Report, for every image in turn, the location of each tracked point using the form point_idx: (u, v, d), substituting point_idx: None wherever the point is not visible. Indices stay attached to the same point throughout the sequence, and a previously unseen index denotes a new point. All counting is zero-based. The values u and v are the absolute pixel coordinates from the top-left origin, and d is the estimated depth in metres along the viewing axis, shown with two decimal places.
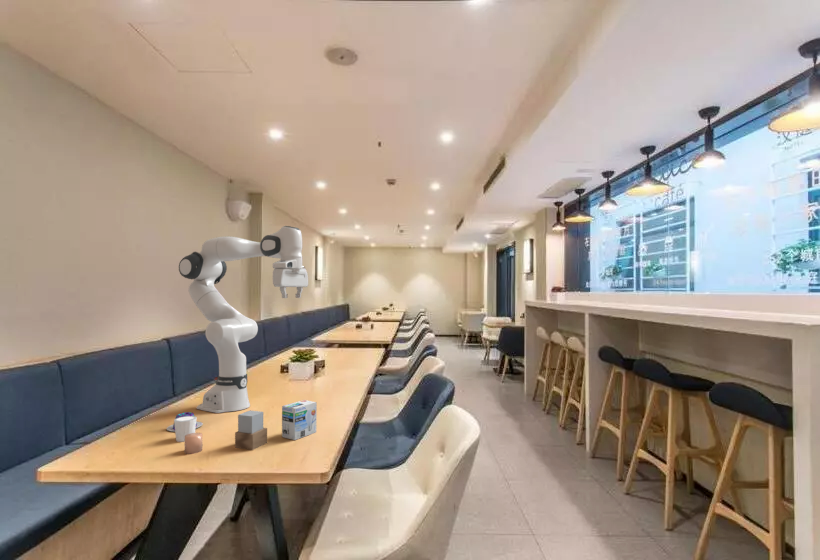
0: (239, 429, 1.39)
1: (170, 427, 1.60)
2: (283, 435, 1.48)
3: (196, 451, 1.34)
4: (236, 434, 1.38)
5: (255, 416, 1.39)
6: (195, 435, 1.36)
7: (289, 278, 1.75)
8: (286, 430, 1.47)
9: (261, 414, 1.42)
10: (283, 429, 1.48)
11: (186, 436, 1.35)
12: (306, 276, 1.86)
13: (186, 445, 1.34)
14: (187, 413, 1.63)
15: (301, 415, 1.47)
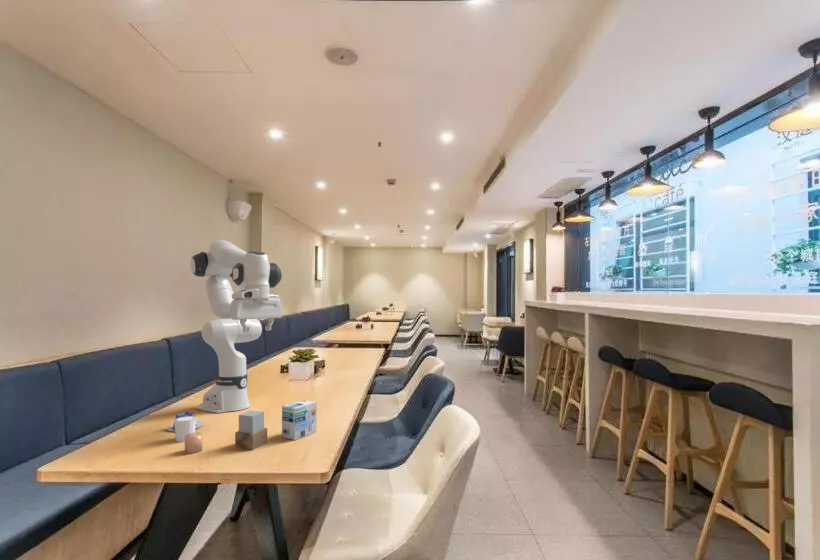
0: (240, 429, 1.39)
1: (170, 427, 1.60)
2: (283, 435, 1.48)
3: (196, 451, 1.34)
4: (236, 434, 1.39)
5: (256, 416, 1.39)
6: (195, 435, 1.36)
7: (250, 309, 1.56)
8: (286, 430, 1.47)
9: (262, 414, 1.42)
10: (283, 429, 1.48)
11: (186, 436, 1.35)
12: (278, 305, 1.66)
13: (186, 445, 1.34)
14: (187, 413, 1.63)
15: (301, 415, 1.47)
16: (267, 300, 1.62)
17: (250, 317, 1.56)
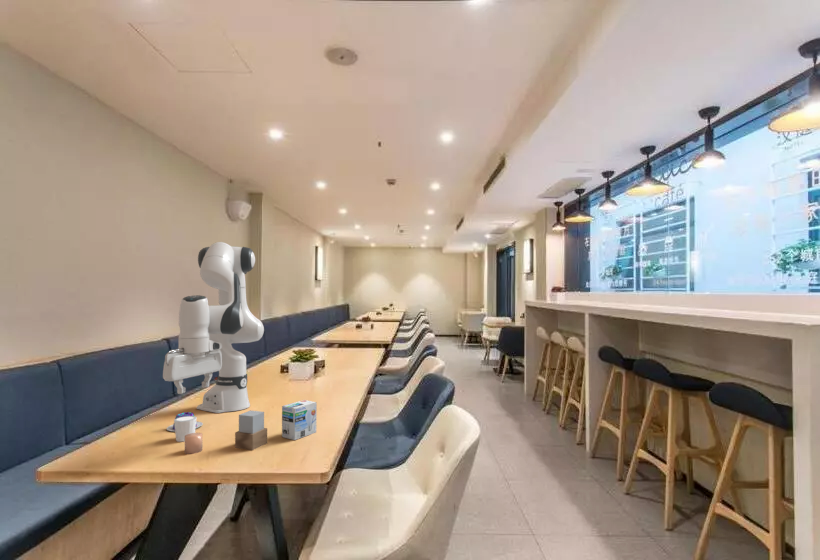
0: (240, 429, 1.39)
1: (170, 427, 1.60)
2: (283, 435, 1.48)
3: (196, 451, 1.34)
4: (236, 434, 1.38)
5: (256, 416, 1.39)
6: (195, 435, 1.36)
7: None
8: (286, 430, 1.47)
9: (262, 414, 1.42)
10: (283, 429, 1.48)
11: (186, 436, 1.35)
12: None
13: (186, 445, 1.34)
14: (187, 413, 1.63)
15: (301, 415, 1.47)
16: None
17: None
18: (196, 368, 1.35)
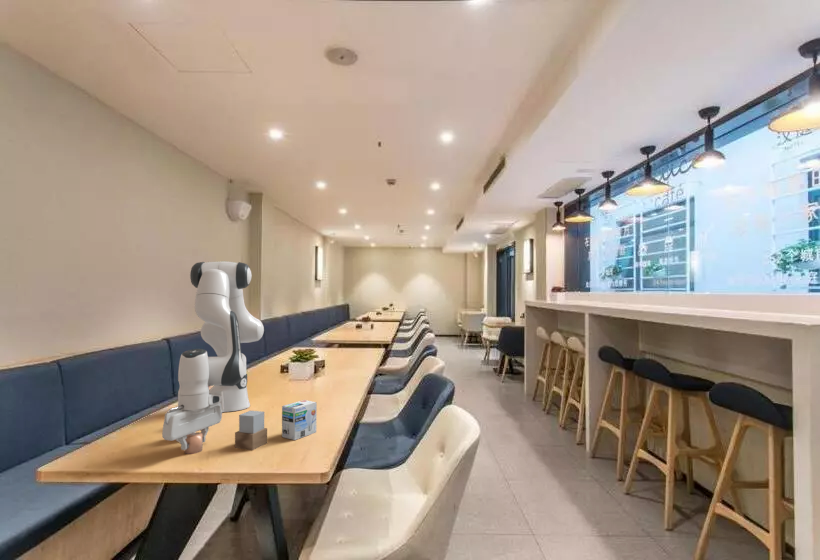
0: (240, 429, 1.39)
1: None
2: (283, 435, 1.48)
3: (196, 451, 1.34)
4: (236, 434, 1.38)
5: (256, 416, 1.39)
6: (195, 435, 1.36)
7: None
8: (286, 430, 1.47)
9: (262, 414, 1.42)
10: (283, 429, 1.48)
11: None
12: None
13: None
14: None
15: (301, 415, 1.47)
16: None
17: None
18: (196, 424, 1.35)
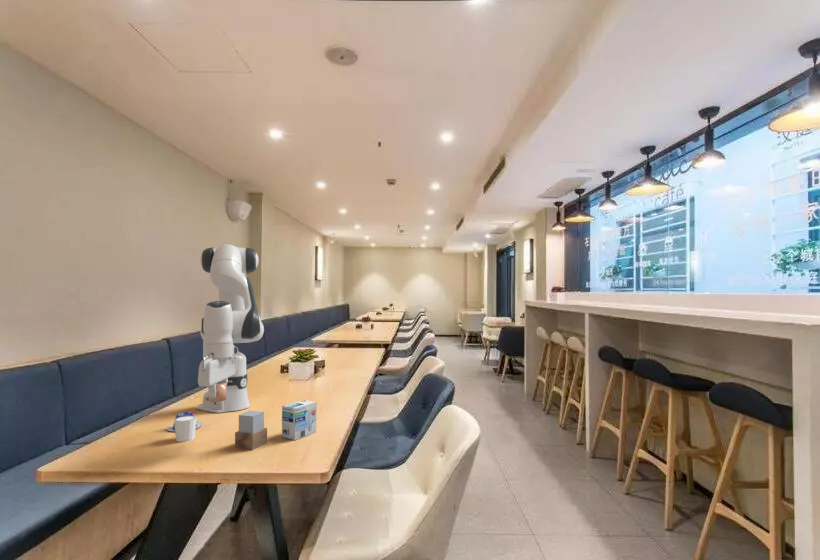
0: (240, 429, 1.39)
1: (169, 428, 1.59)
2: (283, 435, 1.48)
3: (223, 399, 1.37)
4: (236, 434, 1.38)
5: (256, 416, 1.39)
6: (220, 384, 1.38)
7: None
8: (286, 430, 1.47)
9: (262, 414, 1.42)
10: (283, 429, 1.48)
11: None
12: None
13: None
14: (186, 413, 1.63)
15: (301, 415, 1.47)
16: None
17: None
18: (222, 372, 1.38)
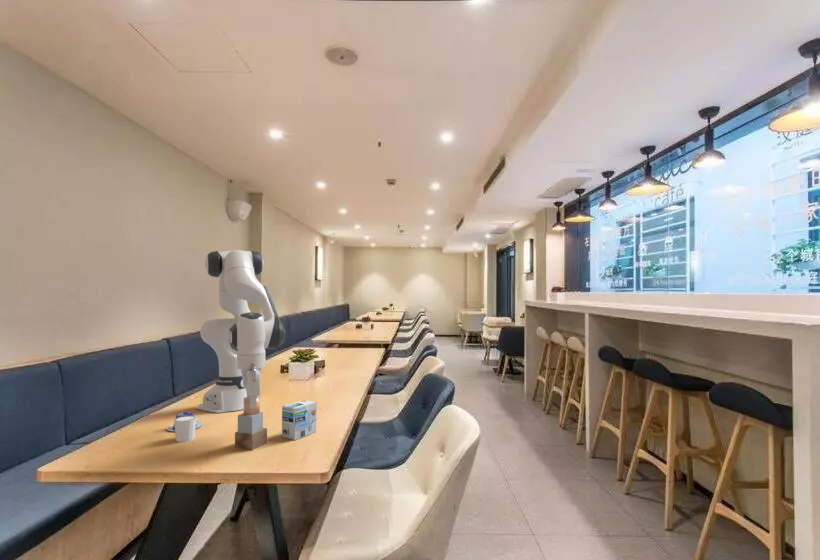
0: (239, 430, 1.38)
1: (169, 428, 1.59)
2: (283, 435, 1.48)
3: (259, 411, 1.41)
4: (236, 434, 1.38)
5: (255, 416, 1.39)
6: None
7: (244, 378, 1.44)
8: (286, 430, 1.47)
9: (261, 414, 1.41)
10: (283, 429, 1.48)
11: (248, 399, 1.39)
12: (247, 381, 1.33)
13: None
14: (185, 413, 1.63)
15: (301, 415, 1.47)
16: (246, 371, 1.38)
17: (244, 386, 1.44)
18: None
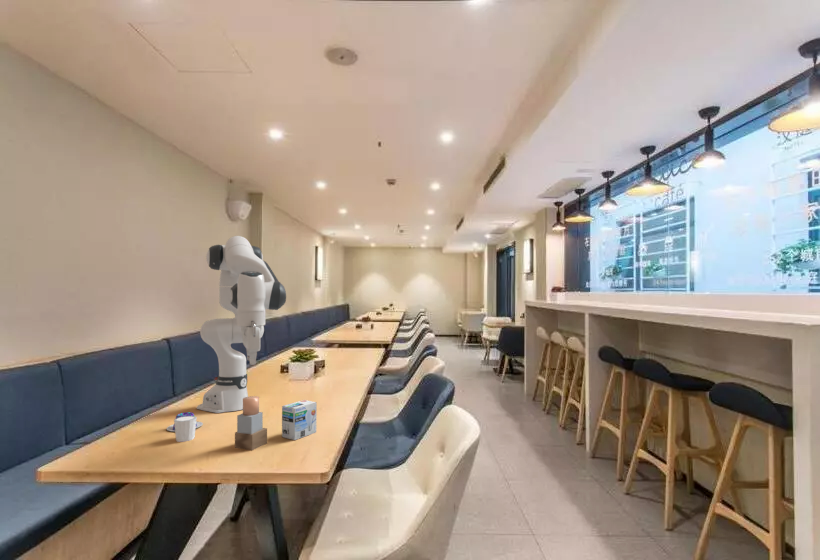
0: (238, 430, 1.38)
1: (169, 428, 1.58)
2: (283, 435, 1.48)
3: (258, 411, 1.41)
4: (236, 434, 1.38)
5: (254, 416, 1.39)
6: (253, 397, 1.41)
7: (244, 337, 1.45)
8: (286, 430, 1.47)
9: (260, 414, 1.41)
10: (283, 429, 1.48)
11: (247, 399, 1.39)
12: (247, 336, 1.34)
13: (250, 407, 1.39)
14: (185, 413, 1.62)
15: (301, 415, 1.47)
16: (246, 328, 1.38)
17: (244, 345, 1.45)
18: None
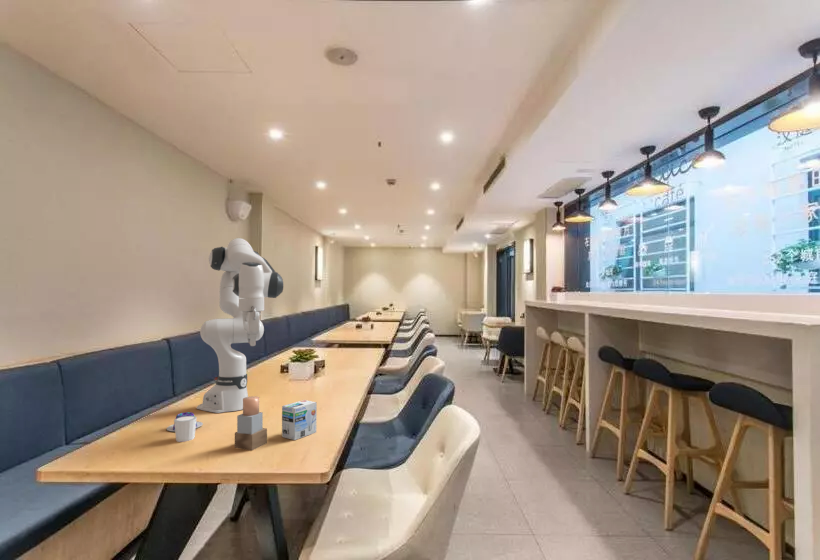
0: (238, 430, 1.38)
1: (169, 429, 1.58)
2: (283, 435, 1.48)
3: (258, 411, 1.41)
4: (236, 434, 1.38)
5: (255, 417, 1.38)
6: (253, 397, 1.41)
7: (245, 322, 1.60)
8: (286, 430, 1.47)
9: (260, 415, 1.41)
10: (283, 429, 1.48)
11: (247, 399, 1.39)
12: (248, 320, 1.49)
13: (250, 407, 1.38)
14: (185, 413, 1.62)
15: (301, 415, 1.47)
16: (247, 313, 1.53)
17: (245, 329, 1.59)
18: None
